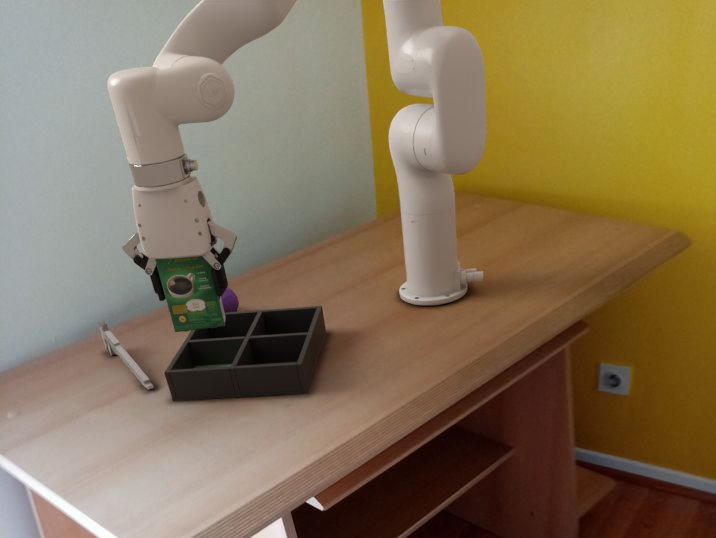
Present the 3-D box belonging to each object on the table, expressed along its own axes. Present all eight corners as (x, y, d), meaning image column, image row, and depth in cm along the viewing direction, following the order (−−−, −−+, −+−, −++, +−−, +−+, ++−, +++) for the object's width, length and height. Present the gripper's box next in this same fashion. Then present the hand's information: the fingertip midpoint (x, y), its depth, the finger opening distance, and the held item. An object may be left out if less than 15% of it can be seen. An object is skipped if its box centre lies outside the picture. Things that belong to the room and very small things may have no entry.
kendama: (189, 272, 153) (242, 286, 139) (193, 302, 156) (246, 318, 142) (162, 276, 150) (214, 291, 136) (166, 307, 152) (218, 324, 139)
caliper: (107, 352, 136) (95, 319, 132) (112, 350, 137) (101, 317, 133) (148, 391, 122) (137, 356, 118) (155, 389, 123) (143, 353, 119)
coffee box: (229, 319, 118) (208, 234, 110) (227, 327, 115) (205, 240, 108) (177, 326, 118) (153, 241, 110) (174, 334, 116) (149, 248, 108)
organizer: (326, 332, 133) (321, 305, 130) (307, 393, 116) (301, 364, 113) (208, 340, 135) (201, 314, 132) (172, 401, 119) (163, 372, 116)
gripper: (229, 159, 105) (255, 281, 115) (110, 171, 107) (146, 289, 118) (215, 173, 99) (244, 301, 109) (89, 186, 101) (129, 309, 112)
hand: (193, 294), depth 113 cm, fingers closed on coffee box, 8 cm apart
